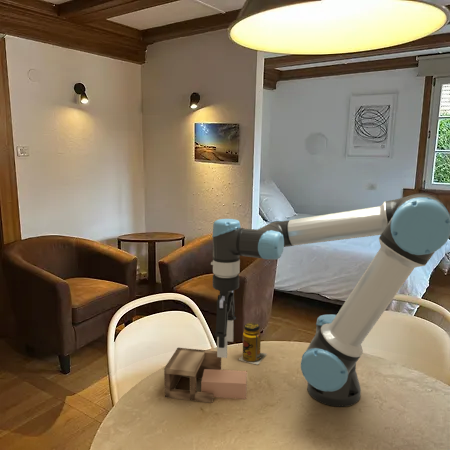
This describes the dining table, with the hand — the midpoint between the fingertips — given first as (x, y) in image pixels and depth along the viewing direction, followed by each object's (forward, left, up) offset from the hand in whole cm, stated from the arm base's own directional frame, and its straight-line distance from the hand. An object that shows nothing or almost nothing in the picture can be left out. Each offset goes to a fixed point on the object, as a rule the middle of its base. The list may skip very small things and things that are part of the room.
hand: (225, 348), depth 121 cm
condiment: (-5, -22, -14) cm, 27 cm away
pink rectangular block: (0, 0, -14) cm, 14 cm away
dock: (+10, 0, -14) cm, 17 cm away
